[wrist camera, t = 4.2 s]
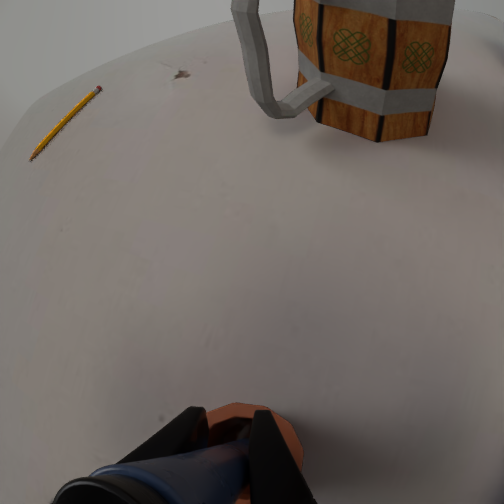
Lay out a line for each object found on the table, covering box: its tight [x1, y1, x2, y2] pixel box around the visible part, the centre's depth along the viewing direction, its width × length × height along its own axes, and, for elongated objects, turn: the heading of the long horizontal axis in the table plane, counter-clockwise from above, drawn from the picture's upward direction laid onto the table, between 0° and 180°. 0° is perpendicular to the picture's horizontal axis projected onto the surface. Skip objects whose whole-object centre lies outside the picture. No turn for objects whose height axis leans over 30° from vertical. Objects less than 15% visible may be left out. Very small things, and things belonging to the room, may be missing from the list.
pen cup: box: [206, 403, 304, 504], centre depth 11 cm, size 4×4×5 cm
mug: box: [231, 0, 455, 142], centre depth 19 cm, size 20×14×15 cm
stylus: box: [53, 437, 250, 504], centre depth 7 cm, size 1×1×13 cm
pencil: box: [28, 86, 101, 162], centre depth 30 cm, size 1×13×1 cm, turn 157°
